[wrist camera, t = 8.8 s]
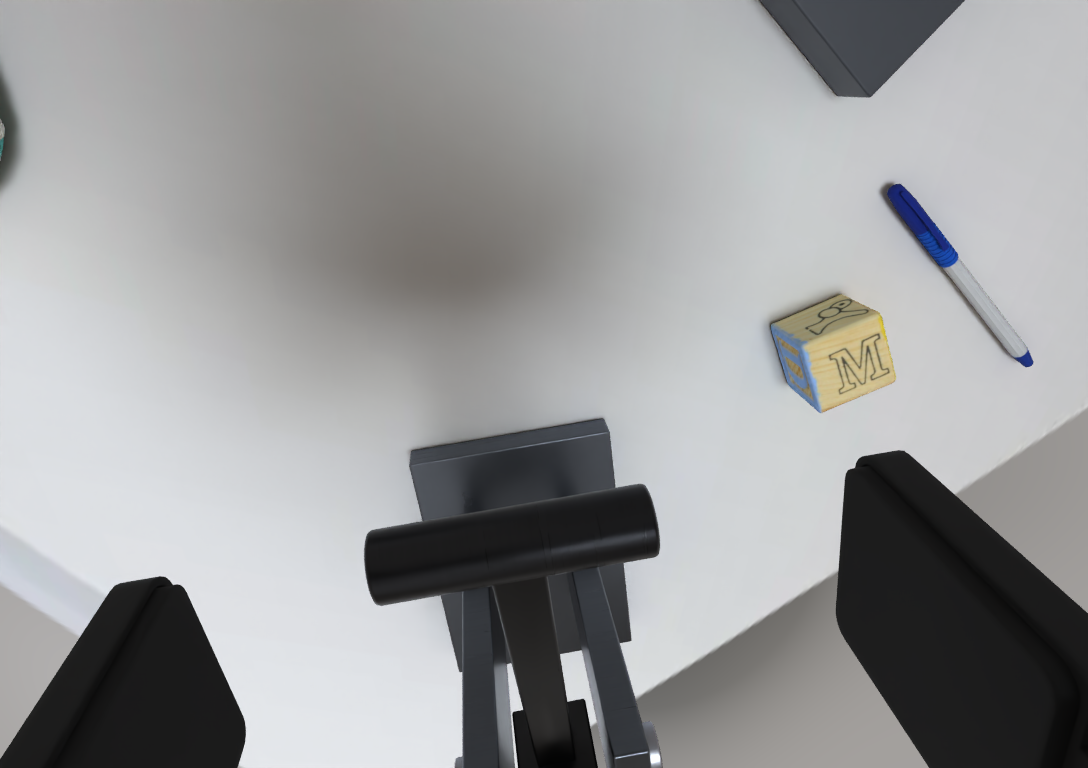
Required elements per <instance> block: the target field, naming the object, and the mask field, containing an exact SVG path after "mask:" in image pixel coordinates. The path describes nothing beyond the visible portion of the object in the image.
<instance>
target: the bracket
mask: <svg viewBox="0 0 1088 768" xmlns="http://www.w3.org/2000/svg"><path fill="white" fill-rule="evenodd" d="M409 467H410V471H411V475H412V479H413V483H414V487H415V491H416V495H417V500H418V504H419V508H420V512H421V516H422V520H423V521H427V520H433V519H439V518H444V517H450V516H456V515H462V514H468V513H473V512H479V511H485V510H491V509H497V508H502V507H508V506H514V505H520V504H526V503H531V502H537V501H543V500H549V499H554V498H560V497H566V496H572V495H578V494H583V493H589V492H595V491H601V490H607V489H612V488H615V479H614V470H613V460H612V451H611V441H610V432H609V430H608V427H607V425H606V422H605V420H604V419H599V420H593V421H587V422H581V423H575V424H569V425H563V426H557V427H552V428H546V429H540V430H534V431H528V432H522V433H516V434H510V435H504V436H498V437H492V438H486V439H480V440H474V441H468V442H462V443H456V444H450V445H444V446H438V447H433V448H427V449H421V450H415V451H411V457H410V464H409ZM547 577H548V583H549V589H550V596H551V602H552V608H553V615H554V621H555V627H556V634H557V640H558V646H559V653H560V654H563V653H569V652H574V651H579V650H582V653H583V658H584V663H585V667H586V672H587V677H588V681H589V686H590V691H591V696H592V700H593V705H594V710H595V714H596V719H597V724H598V728H599V733H600V738H601V743H602V747H603V752H604V757H605V761H606V766H607V768H663V766H662V758H661V752H660V747H659V743H658V739H657V735H656V731H655V728H654V726H653V723H652V722H650V721H648V722H643V723H642V721H641V718H640V714H639V710H638V707H637V703H636V700H635V696H634V693H633V689H632V685H631V682H630V678H629V675H628V671H627V668H626V664H625V661H624V657H623V653H622V650H621V646H620V643H623V642H629V641H631V630H630V621H629V611H628V602H627V592H626V583H625V573H624V564H623V563H619V564H614V565H608V566H602V567H597V568H591V569H585V570H580V571H574V572H569V573H563V574H557V575H552V576H547ZM441 598H442V603H443V607H444V611H445V615H446V619H447V623H448V627H449V631H450V636H451V640H452V644H453V648H454V652H455V656H456V660H457V664H458V669H459V672H462V701H463V757H458V758H456V761H455V768H515V763H514V750H513V738H512V725H511V712H510V699H509V686H508V673H507V664H509V663H512V662H511V658H510V655H509V651H508V647H507V643H506V639H505V635H504V631H503V627H502V623H501V619H500V615H499V611H498V607H497V603H496V599H495V595H494V591H493V587H492V586H490V587H484V588H479V589H473V590H467V591H462V592H456V593H451V594H445V595H441Z"/></svg>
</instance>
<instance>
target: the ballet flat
mask: <svg viewBox="0 0 1088 768" xmlns="http://www.w3.org/2000/svg"><path fill="white" fill-rule="evenodd" d="M4 132H5V127H4V125H3V123H2V122H1V120H0V159H1V155H2V150H3V143H4V138H3V137H4Z"/></svg>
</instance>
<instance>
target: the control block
mask: <svg viewBox="0 0 1088 768" xmlns="http://www.w3.org/2000/svg"><path fill="white" fill-rule="evenodd" d="M760 1H761V2H762V4H763V5H764V6H765V7H766V9H767V10H768V11H769V12H770V13H771V15H772V16H773V17H774V18H775V20H776V21H777V22H778V23H779V25H780V26H781V27H782V28H783V29H784V31H785V32H786V33H787V34H788V36H789V37H790V38H791V39H792V41H793V42H794V43H795V44H796V45H797V47H798V48H799V49H800V50H801V52H802V53H803V54H804V55H805V56H806V58H807V59H808V60H809V61H810V63H811V64H812V65H813V66H814V68H815V69H816V70H817V71H818V72H819V74H820V75H821V76H822V77H823V79H824V80H825V81H826V82H827V84H828V85H829V86H830V87H831V88H832V90H833V91H834V92H835V93H836V95H837V96H842V97H871V96H872V95H873V94H874V93H875V92H876V91H877V90H878V89H879V88H880V87H881V86H882V85H883V84H884V83H885V82H886V81H887V80H888V79H889V78H890V77H891V76H892V75H893V74H894V73H895V72H896V71H897V70H898V69H899V68H900V67H901V66H902V65H903V63H904V62H905V61H906V60H907V59H908V58H909V57H910V56H911V55H912V54H913V53H914V52H915V51H916V50H917V49H918V48H919V47H920V46H921V45H922V44H923V43H924V42H925V41H926V40H927V39H928V38H929V37H930V36H931V35H932V34H933V33H934V32H935V31H936V30H937V28H938V27H939V26H940V25H941V24H942V23H943V22H944V21H945V20H946V19H947V18H948V17H949V16H950V15H951V14H952V13H953V12H954V11H955V10H956V9H957V8H958V7H959V6H960V5H961V4H962V3H963V2H964V1H965V0H760Z"/></svg>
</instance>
